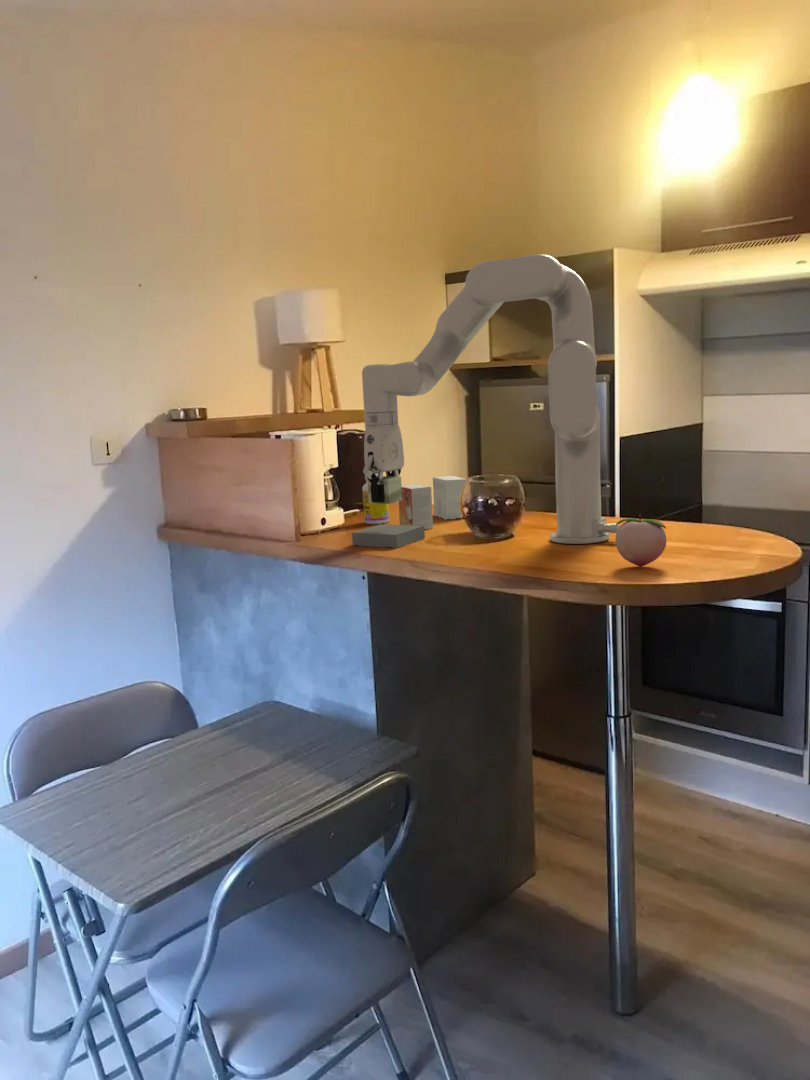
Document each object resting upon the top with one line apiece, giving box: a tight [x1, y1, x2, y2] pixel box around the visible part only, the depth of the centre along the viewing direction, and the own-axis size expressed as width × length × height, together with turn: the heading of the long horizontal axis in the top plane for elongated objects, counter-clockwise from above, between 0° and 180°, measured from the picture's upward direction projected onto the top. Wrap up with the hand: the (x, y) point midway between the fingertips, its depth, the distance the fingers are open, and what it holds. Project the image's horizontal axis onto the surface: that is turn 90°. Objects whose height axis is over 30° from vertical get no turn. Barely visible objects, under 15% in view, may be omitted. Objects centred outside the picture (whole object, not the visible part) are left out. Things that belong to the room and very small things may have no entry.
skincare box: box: [432, 475, 468, 521], centre depth 242 cm, size 10×6×10 cm, turn 16°
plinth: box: [351, 523, 426, 549], centre depth 210 cm, size 12×12×3 cm
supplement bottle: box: [361, 474, 390, 525], centre depth 239 cm, size 7×7×13 cm
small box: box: [398, 483, 434, 530], centre depth 227 cm, size 8×6×10 cm
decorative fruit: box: [615, 513, 667, 568], centre depth 168 cm, size 9×8×10 cm
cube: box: [368, 475, 403, 505], centre depth 208 cm, size 6×6×6 cm
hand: (385, 499), depth 208 cm, fingers closed on cube, 5 cm apart
